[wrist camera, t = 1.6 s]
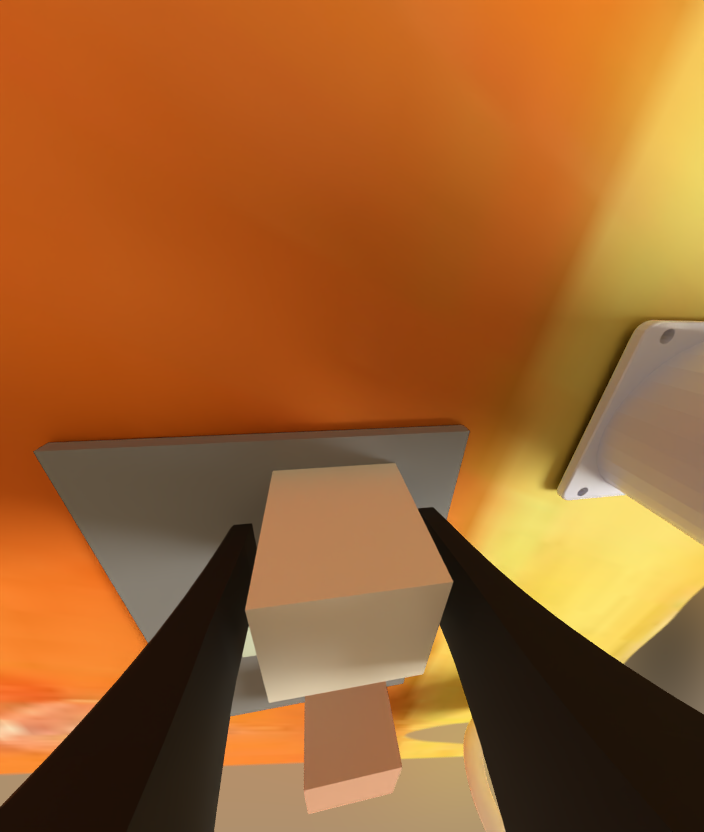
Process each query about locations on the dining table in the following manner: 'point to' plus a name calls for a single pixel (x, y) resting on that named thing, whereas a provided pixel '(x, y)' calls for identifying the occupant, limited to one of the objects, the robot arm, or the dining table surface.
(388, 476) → the cream block
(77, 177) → the dining table surface
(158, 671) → the robot arm
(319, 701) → the terracotta block
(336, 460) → the mat
